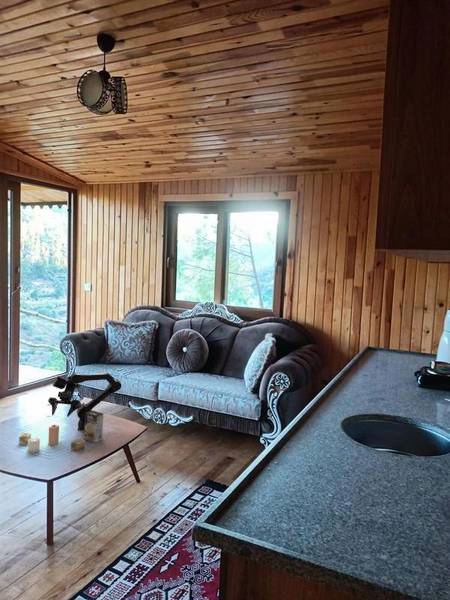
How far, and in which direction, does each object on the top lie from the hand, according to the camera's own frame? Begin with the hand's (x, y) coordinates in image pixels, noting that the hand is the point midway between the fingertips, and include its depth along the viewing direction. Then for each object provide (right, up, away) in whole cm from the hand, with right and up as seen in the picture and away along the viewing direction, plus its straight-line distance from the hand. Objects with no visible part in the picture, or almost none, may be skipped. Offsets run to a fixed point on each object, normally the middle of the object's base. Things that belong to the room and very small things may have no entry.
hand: (59, 415), depth 262 cm
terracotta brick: (-1, -14, -6) cm, 16 cm away
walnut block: (+14, -16, -12) cm, 24 cm away
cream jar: (-8, -15, -17) cm, 24 cm away
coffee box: (+19, -15, +3) cm, 24 cm away
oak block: (-17, -13, -7) cm, 23 cm away
